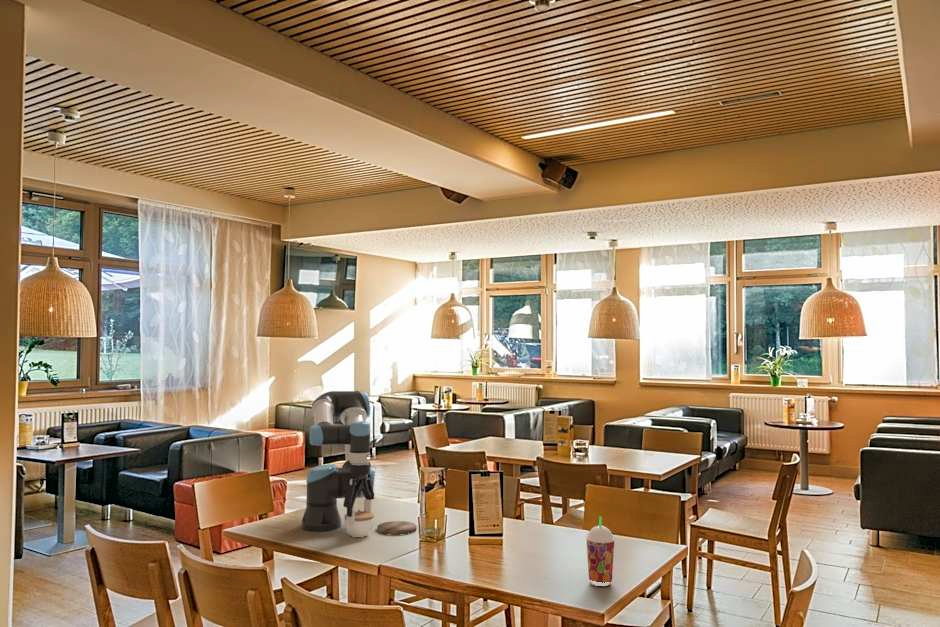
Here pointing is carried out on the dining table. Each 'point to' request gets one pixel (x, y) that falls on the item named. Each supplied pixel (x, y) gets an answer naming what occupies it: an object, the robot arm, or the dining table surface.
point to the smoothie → (600, 553)
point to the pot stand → (396, 527)
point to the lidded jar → (360, 524)
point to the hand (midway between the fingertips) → (359, 521)
